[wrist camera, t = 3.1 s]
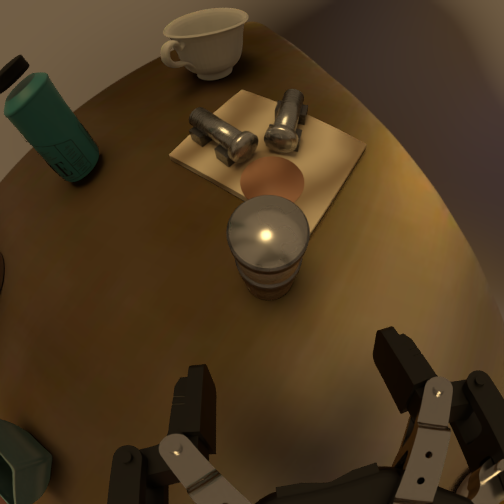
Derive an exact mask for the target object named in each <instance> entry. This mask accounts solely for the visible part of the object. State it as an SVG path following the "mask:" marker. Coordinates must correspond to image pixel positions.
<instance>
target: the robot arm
mask: <svg viewBox="0 0 504 504" xmlns="http://www.w3.org/2000/svg"><path fill="white" fill-rule="evenodd" d="M3 275H4V262H3V257H2V255H1V253H0V290H1V286H2V282H3ZM373 359H374V362H375V365H376V366H377V368H378V370H379V372H380V374H381V376H382V378H383V380H384V382H385V384H386V386H387V388H388V389H389V391H390V393H391V395H392V397H393V399H394V401H395V403H396V405H397V407H398V409H399V411H400V413H401V414H402V413H404V412H407V411H408V412H409V414H410V417H409V420H408V423H407V427H406V430H405V433H404V437H403V440H402V443H401V446H400V449H399V451H398V453H397V455H396V457H395V459H394V462H393V464H392V466H391V467H387V466H382V467H378V466H377V463H373V464H370V465H367V466H364V467H361V468H358V469H355V470H352V471H351V472H349V473H347V474H345V475H343V476H341V477H339V478H337V479H336V480H334V481H332V482H329V483H299V484H293V485H287V486H281V487H276V492H274V493H271V494H269V495H267V496H265V497H263V498H262V499H260V500H259V501H258V502H256V503H255V504H499V503H500V502H501V501H503V500H504V399H503V397H502V396H501V394H500V392H499V391H498V389H497V388H496V386H495V385H494V383H493V381H492V380H491V378H490V377H489V376H488V374H486V373H485V372H483V371H473V372H472V373H470V374H469V376H468V378H467V379H466V380H461V381H454V382H450V381H449V380H448V379H446V378H444V377H438V376H437V375H436V374H435V372H434V371H433V369H432V368H431V366H430V365H429V363H428V362H427V360H426V359H425V357H424V356H423V355H422V354H421V352H420V350H419V349H418V348H417V346H416V345H415V343H414V342H413V340H412V339H411V338H409V337H408V336H406V335H405V334H401V335H399V334H398V333H397V331H396V330H395V329H394V327H392V326H391V327H388V328H384V329H381V330H378V331H377V333H376V338H375V344H374V350H373ZM173 396H174V398H173V402H172V404H173V405H172V408H171V415H170V423H169V430H168V434H167V436H166V437H165V438H164V439H163V440H162V441H161V442H160V444H158V445H156V446H153V447H149V448H145V449H140V450H138V449H137V448H136V447H134V446H130V445H126V446H122V447H120V448H119V449H117V450H116V452H115V453H114V456H113V461H112V468H111V475H110V483H109V492H108V502H107V504H169V499H168V489H169V485H171V484H175V483H179V482H181V483H182V484H183V485H184V487H185V488H186V489H187V493H188V494H189V496H190V497H191V498H192V499H193V500H194V502H195V503H196V504H252V503H251V502H249V501H248V500H247V499H246V498H245V497H244V496H243V495H242V494H241V493H240V492H238V491H237V490H236V489H235V488H234V487H233V486H232V485H231V484H230V483H229V482H228V481H227V480H226V479H225V478H224V477H223V476H222V475H221V474H220V473H219V472H218V471H217V470H216V469H215V468H214V467H213V466H212V465H211V464H210V463H209V454H216V388H215V384H214V382H213V379H212V377H211V375H210V372H209V370H208V367H207V365H206V364H202V365H192V366H189V369H188V377H182V378H180V379H179V381H178V382H177V384H176V385H175V388H174V395H173ZM448 423H450V425H451V427H452V429H453V431H454V434H455V436H456V438H457V440H458V443H459V445H460V447H461V449H462V452H463V454H464V456H465V459H466V461H467V464H468V466H469V469H470V471H471V475H470V477H469V480H468V485H467V490H468V491H469V492H468V496H467V497H464V496H462V495H459V494H456V493H454V492H451V491H448V490H446V489H444V488H441V487H439V486H438V483H439V480H440V477H441V473H442V470H443V466H444V462H445V458H446V454H447V449H448V445H449V440H450V434H451V429H450V428H448Z"/></svg>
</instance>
